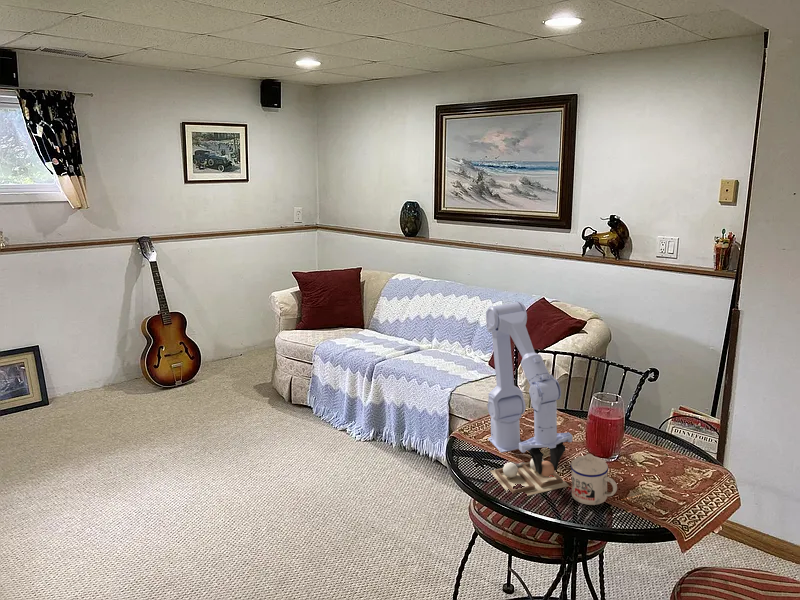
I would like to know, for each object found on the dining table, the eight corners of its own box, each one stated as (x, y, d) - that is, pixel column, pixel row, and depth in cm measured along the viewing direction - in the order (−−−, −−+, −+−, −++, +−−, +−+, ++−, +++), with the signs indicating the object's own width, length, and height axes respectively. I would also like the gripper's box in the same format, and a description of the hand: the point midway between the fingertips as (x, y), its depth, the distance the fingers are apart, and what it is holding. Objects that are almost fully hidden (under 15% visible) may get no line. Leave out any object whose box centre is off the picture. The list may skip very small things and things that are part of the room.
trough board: (489, 472, 184) (489, 467, 183) (542, 460, 188) (542, 455, 187) (513, 500, 170) (513, 495, 169) (569, 487, 174) (569, 482, 173)
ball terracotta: (536, 473, 178) (535, 459, 177) (549, 470, 179) (549, 456, 178) (543, 480, 175) (543, 466, 174) (556, 477, 176) (556, 463, 175)
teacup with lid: (563, 497, 169) (563, 456, 166) (583, 482, 175) (583, 442, 172) (606, 515, 161) (606, 472, 158) (625, 499, 167) (626, 457, 164)
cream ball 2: (527, 468, 183) (527, 455, 182) (540, 465, 184) (540, 452, 183) (534, 475, 180) (534, 462, 179) (547, 472, 181) (547, 459, 180)
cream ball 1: (500, 474, 181) (500, 461, 180) (514, 471, 182) (513, 458, 181) (507, 481, 178) (506, 468, 177) (520, 478, 179) (520, 465, 178)
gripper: (526, 435, 167) (528, 483, 171) (578, 424, 171) (578, 471, 175) (514, 424, 174) (516, 470, 178) (564, 413, 178) (564, 459, 181)
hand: (546, 470), depth 177 cm, fingers closed on ball terracotta, 4 cm apart
